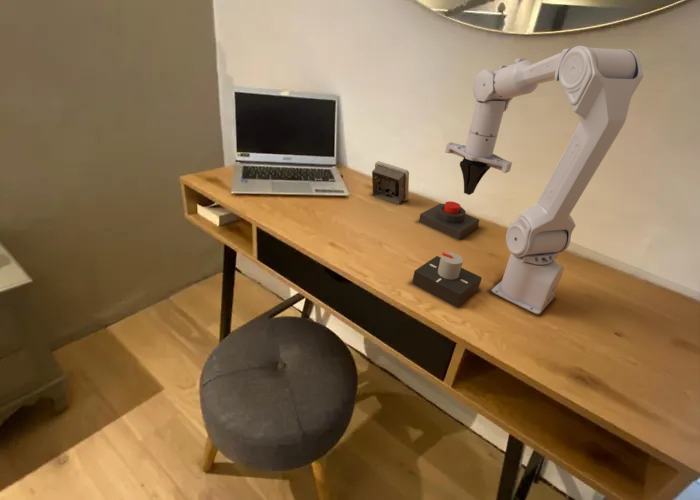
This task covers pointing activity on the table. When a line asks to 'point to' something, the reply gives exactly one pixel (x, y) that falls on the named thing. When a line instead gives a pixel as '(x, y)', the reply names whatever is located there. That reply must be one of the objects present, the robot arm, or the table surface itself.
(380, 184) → the electrical switch
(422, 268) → the dial panel
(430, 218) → the button block
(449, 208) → the power button
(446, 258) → the dial
